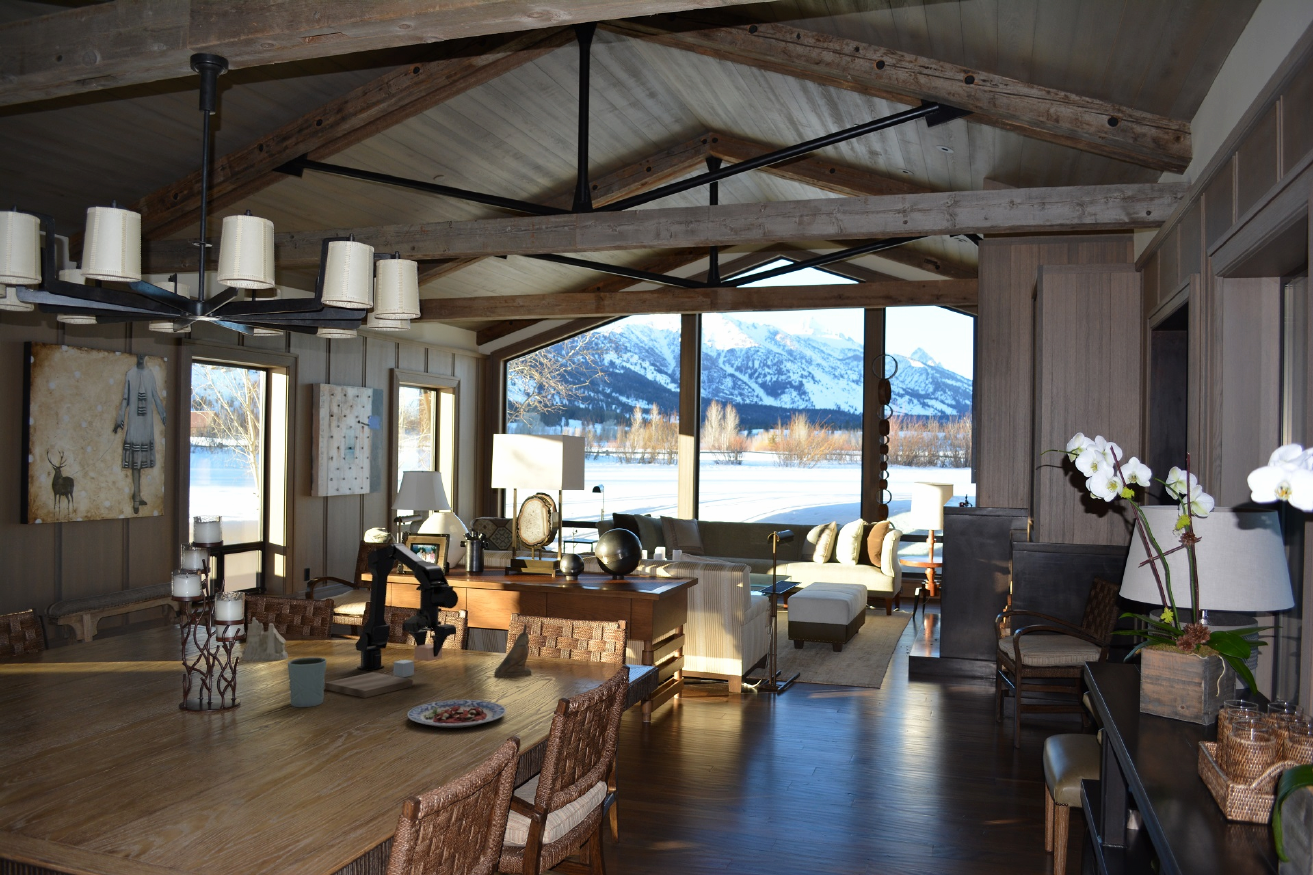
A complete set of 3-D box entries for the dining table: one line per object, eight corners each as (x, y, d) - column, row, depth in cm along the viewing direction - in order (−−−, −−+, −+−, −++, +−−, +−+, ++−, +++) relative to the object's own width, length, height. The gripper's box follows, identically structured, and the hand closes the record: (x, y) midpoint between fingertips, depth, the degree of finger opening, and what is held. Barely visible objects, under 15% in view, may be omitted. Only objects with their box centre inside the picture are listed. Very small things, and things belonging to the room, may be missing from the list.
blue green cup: (332, 701, 264) (334, 659, 264) (305, 709, 255) (307, 665, 255) (306, 697, 268) (307, 655, 269) (278, 705, 259) (280, 661, 259)
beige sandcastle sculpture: (280, 661, 317) (281, 616, 319) (232, 662, 317) (233, 618, 319) (298, 655, 333) (298, 613, 334) (252, 656, 333) (253, 614, 334)
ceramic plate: (522, 712, 255) (523, 701, 255) (475, 737, 231) (475, 725, 231) (441, 704, 264) (441, 693, 264) (387, 727, 239) (387, 715, 240)
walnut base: (325, 689, 279) (325, 682, 279) (372, 678, 294) (373, 672, 294) (365, 697, 269) (365, 690, 269) (412, 686, 284) (412, 679, 284)
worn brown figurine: (528, 680, 305) (540, 626, 308) (530, 683, 300) (543, 628, 302) (492, 674, 302) (505, 619, 304) (494, 677, 297) (507, 621, 299)
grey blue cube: (393, 675, 298) (393, 661, 299) (404, 673, 302) (404, 659, 302) (402, 677, 296) (403, 663, 296) (413, 675, 300) (414, 661, 300)
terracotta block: (414, 659, 291) (414, 646, 291) (428, 656, 296) (428, 643, 296) (428, 661, 288) (428, 648, 288) (442, 658, 293) (442, 645, 293)
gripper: (389, 605, 291) (388, 655, 290) (431, 611, 281) (430, 663, 280) (416, 601, 300) (415, 650, 300) (457, 606, 290) (456, 657, 290)
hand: (428, 655), depth 292 cm, fingers closed on terracotta block, 6 cm apart
